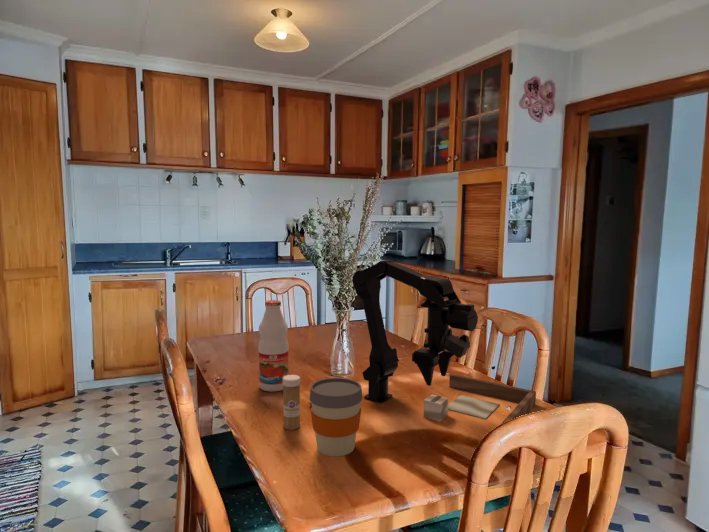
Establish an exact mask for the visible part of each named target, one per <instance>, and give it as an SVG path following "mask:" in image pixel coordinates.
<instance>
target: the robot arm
mask: <svg viewBox="0 0 709 532" xmlns="http://www.w3.org/2000/svg"><path fill="white" fill-rule="evenodd" d="M351 277H352V278H351V281H352V285H353V288H354V290H355V293H356V294H357V295H358V297H359V298H360V299H361V301H362V306H363V309H364V315H365V320H366V324H367V329H368V334H369V339H370V345H371V349H370V353H369V357H368V361H369V366H368V367H367V368H365V370H364V371H362V378H363V379H364V381H367V382H368V386H367V387H368V392H367V393H368V394H365V395H363V396H364V397H363V398H364V399H366V400H370V401H374V402H376V403H384V402H386V401H387V400H389V399H391V398H392V397H393V394H391V393H389V378H390V377H392V376H393V375H394V373H395V371H396V370H397V369H398V367H399V361H400V359H399V358H398V351H397V348H396V347H393V348H392V347H391V346H390V345H389V342H388V339H387V338H388V336H387V333H386V329H385V324H384V318H383V314H382V309H381V304H380V299H379V297H380V292H381V288H382V287H381V286H382V283H381V281H382V280H384V279H385V278H387V277H390V278H391V279H393V280H396V281H398V282H400V283H402V284H405V285H407V286H409V287H411V288H414V289H415V290H416V291H418V292H419V295H421V296H422V297H424V298H425V299H426V300H424V302H422V303H421V304H420V307H421V308H427V327H425V328H424V329H423V330H424V331H423V332H424V333H426V342H424V343H423V347H421V348H418V349H417V350H415V351H414V352H413V353H412V354H411V361H412V362H413V363H414V364H416V366H417V367H418V369H419V371H420V373H421V375H422V377H423V380H424V382H425V384H426V386H429V387H430V386H432V382H433V379H434V378H433V376H434V371H435V370H434V369H435V368H436V366H438V369H439V373H440V376H441V377H446V375H447V372H448V370H449V369H448V368H449V366H450V363H451V359H452V357H454V356H455V357H457V358H462V357H463V356H466V354H467V353H468V349H470V348H471V342H470V336H469V335H467V334H466V333H465V334H462V335H461V336H459V335H454V334H453V329H456V330H463V331H468V332H474V331H475V330H476V328H477V325H478V320H479V316H478V313H477V311H476V309H475V305H474V304H472V303H471V304H469V303H468V304H465V303H462V302H461V300H460V298H459V296H458V295H457V293H456V291H455V290H454V287H453V286H454V285H453V283H452V281H451V280H449V279H448V278H445V277H440V276H433V275H427V274H424V273H422V272H419V271H416V270H413V269H411V268H408V267H406V266H405V265H401V264H399V263H397V262H395V261H393V260H392V259H383V260H379V261H378V262H376V263H375V264H373V265H371V266H368V267H367V268H365V269H359V270H356V271H355V272H354V273H353V275H352V276H351Z"/></svg>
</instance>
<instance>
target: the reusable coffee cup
mask: <svg viewBox="0 0 709 532" xmlns="http://www.w3.org/2000/svg"><path fill="white" fill-rule="evenodd" d="M309 390H310V391H309V397H310V400H309V402H310V401H311V403H310V404H311V408H310V415H311V424H312V429H313V431H314V433H315V440H316V448H317V451H318V452H319V453H320V454H322V455H325V456H328V457H329V456H330V457H341V456H347V455H349V454H350V453H352V452H353V451H354V449H355V446H356V440H357V432H358V430H359V427H360V421H361V414H362V408H361V403H362V401H363V391H362V385H361V383H359V382H358V381H356V380H353V379H350V378H346V377H345V378H344V377H328V378H322V379H319V380H317V381H315V382H313V383H312V384H311V385H310V389H309Z"/></svg>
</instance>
